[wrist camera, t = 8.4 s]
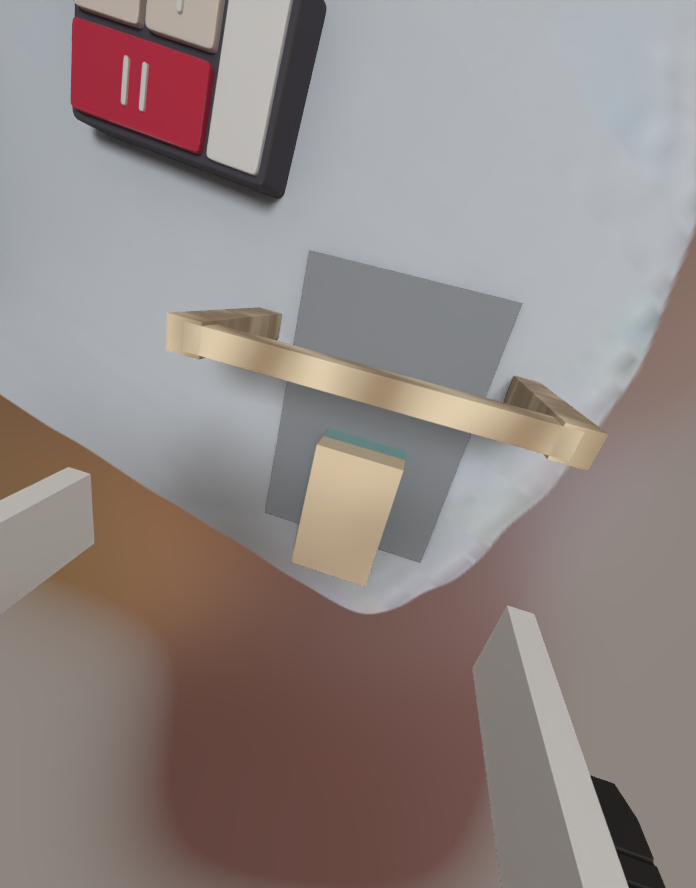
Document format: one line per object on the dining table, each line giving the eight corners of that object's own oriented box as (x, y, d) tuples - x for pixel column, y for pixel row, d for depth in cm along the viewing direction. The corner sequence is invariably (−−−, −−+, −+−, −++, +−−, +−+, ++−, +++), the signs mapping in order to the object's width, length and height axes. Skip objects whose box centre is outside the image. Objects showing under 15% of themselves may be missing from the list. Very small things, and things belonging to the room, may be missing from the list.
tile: (316, 444, 29) (329, 428, 33) (291, 562, 34) (304, 536, 38) (403, 470, 29) (406, 451, 32) (365, 587, 33) (371, 558, 37)
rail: (255, 332, 32) (165, 349, 21) (259, 307, 31) (167, 312, 20) (529, 407, 29) (588, 470, 19) (540, 382, 29) (607, 434, 18)
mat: (266, 510, 38) (264, 512, 38) (310, 250, 28) (309, 250, 28) (420, 560, 36) (420, 562, 36) (521, 303, 27) (522, 303, 27)
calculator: (63, -127, 21) (305, -56, 19) (124, -59, 25) (329, 4, 23) (60, 112, 25) (257, 184, 24) (112, 137, 29) (284, 201, 28)
